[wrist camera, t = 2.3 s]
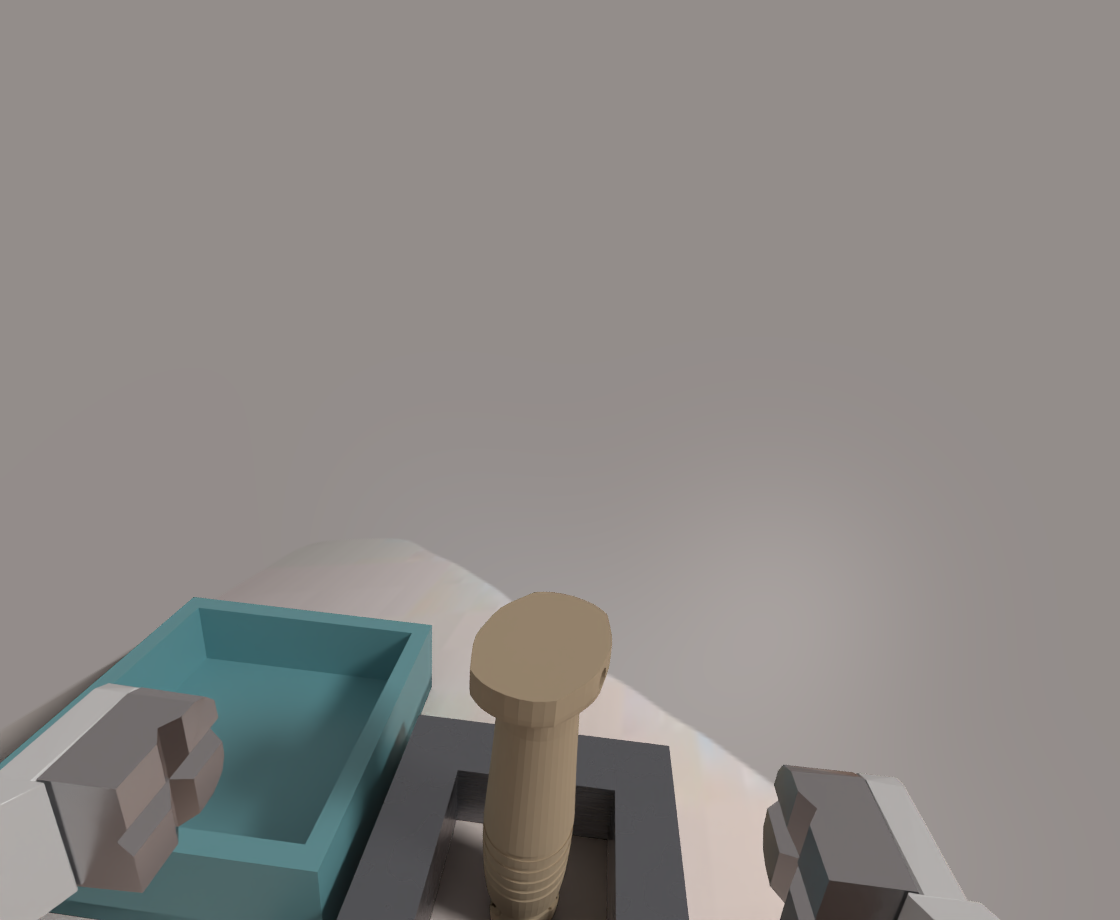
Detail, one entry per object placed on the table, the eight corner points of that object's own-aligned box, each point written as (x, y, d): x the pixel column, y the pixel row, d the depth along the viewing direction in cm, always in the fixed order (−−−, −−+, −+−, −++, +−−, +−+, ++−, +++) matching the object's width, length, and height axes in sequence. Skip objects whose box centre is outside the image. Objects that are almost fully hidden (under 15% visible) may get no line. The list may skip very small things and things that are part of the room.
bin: (-31, 900, 26) (-65, 818, 24) (203, 658, 41) (193, 597, 39) (325, 952, 25) (317, 872, 23) (431, 686, 40) (431, 625, 38)
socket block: (302, 1081, 21) (294, 1023, 20) (419, 761, 34) (419, 714, 33) (691, 1142, 21) (708, 1086, 19) (660, 792, 34) (669, 746, 33)
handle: (438, 950, 26) (441, 671, 20) (506, 825, 31) (523, 581, 26) (540, 1007, 24) (573, 720, 19) (592, 864, 30) (629, 613, 24)
